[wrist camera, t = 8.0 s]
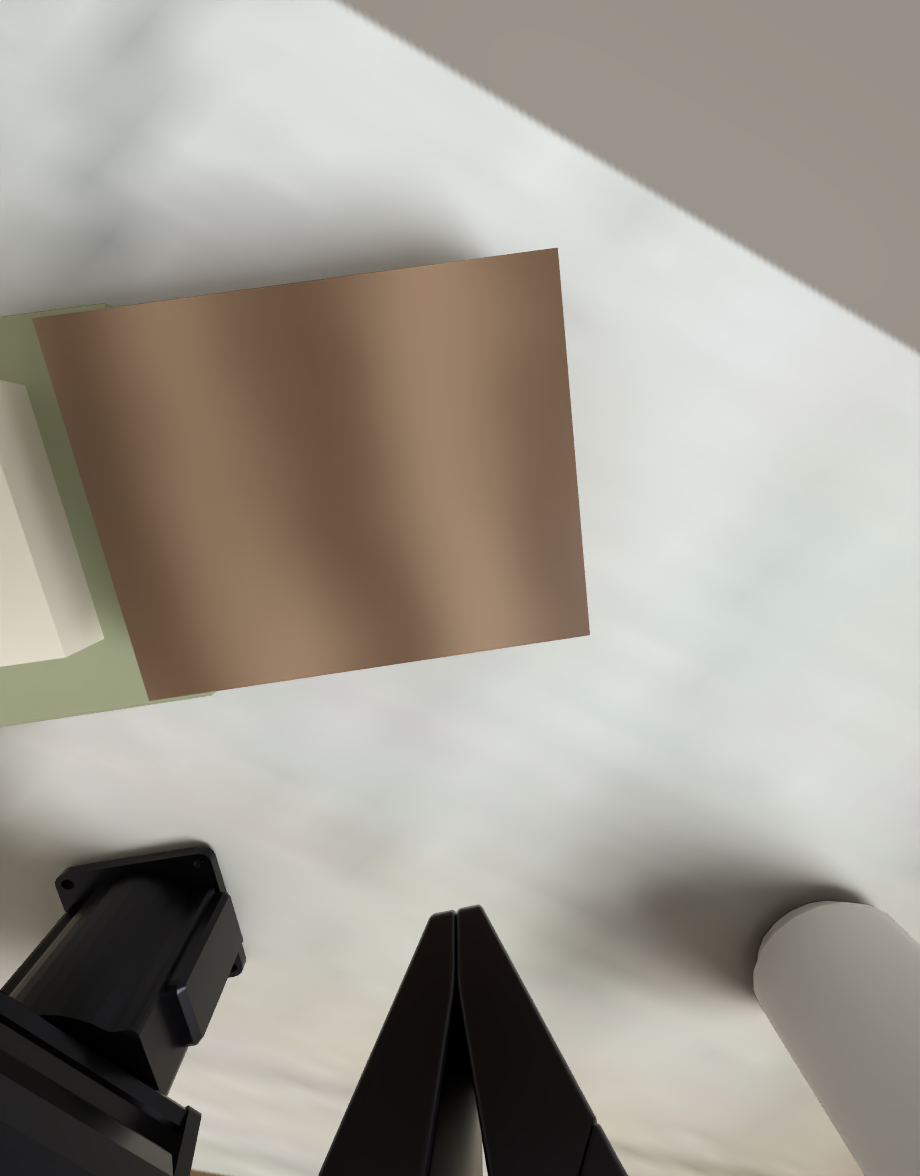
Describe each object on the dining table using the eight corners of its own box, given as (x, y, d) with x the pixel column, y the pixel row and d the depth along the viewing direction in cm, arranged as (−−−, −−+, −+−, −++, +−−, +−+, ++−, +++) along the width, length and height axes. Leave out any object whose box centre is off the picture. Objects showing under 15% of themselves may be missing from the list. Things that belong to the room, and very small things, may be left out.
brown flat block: (206, 655, 19) (149, 701, 15) (125, 355, 17) (31, 318, 13) (558, 603, 20) (589, 634, 16) (529, 300, 17) (557, 247, 13)
